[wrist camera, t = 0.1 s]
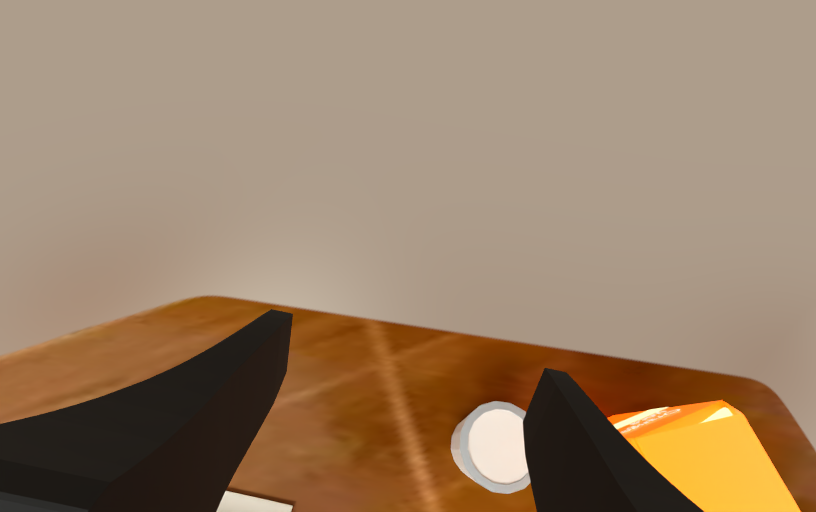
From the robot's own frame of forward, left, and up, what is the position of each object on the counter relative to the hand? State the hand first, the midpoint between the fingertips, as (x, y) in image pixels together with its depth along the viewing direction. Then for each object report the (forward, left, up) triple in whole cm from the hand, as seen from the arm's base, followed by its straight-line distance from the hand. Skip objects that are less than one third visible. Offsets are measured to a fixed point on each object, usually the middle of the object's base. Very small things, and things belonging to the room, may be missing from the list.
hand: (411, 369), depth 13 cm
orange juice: (0, -22, -32) cm, 39 cm away
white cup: (0, -10, -32) cm, 34 cm away
